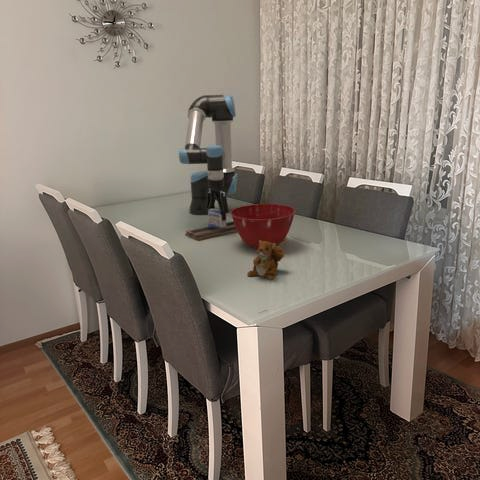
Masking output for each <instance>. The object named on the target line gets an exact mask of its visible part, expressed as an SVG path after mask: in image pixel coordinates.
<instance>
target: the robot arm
mask: <svg viewBox="0 0 480 480" xmlns="http://www.w3.org/2000/svg"><path fill="white" fill-rule="evenodd" d="M236 113H237V112H236V106H235V100H234V96H232V95H231V94H212V95H211V94H210V95H209V94H207V95H205V94H204V95H201V96H199V97H198V98H196V99H195V100H194V101H192V103H191V104H190V106H189V108H188V110H187V118H188V124H187V131H186V135H185V136H186V137H185V143H184V147H183V148H180V149H179V150H178V159H179V163H180V164H181V165H198V164H199V165H203V164H204V165H205V164H206V166H207V170H201V171H197V172H193V173H192V174H191V175H190V192H191V193H190V194H191V201H190V205H189V211H188V213H190V214H191V215H199V216H200V215H208V210H209V209H212V208H214V209H216V205H215V203H216V201H217V205H218V207H219V208H218V209H220V212H221V213H220V227H225V226H226V223H227V214H229V205H228V198H227V195H230V194H235V193H236V190H237V184H238V173H237V172H236V171H235V168H234V167H233V157H232V129H231V126H232V125H231V124H232V123H233V121H234V118H235V117H236V116H237V115H236ZM206 118H209V119H210V118H211V122H212V123H213V124H214V131H215V144H214V145H208V146H207V147H201V142H202V136H203V127H204V122H205V120H206Z"/></svg>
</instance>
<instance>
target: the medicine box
mask: <svg viewBox="0 0 480 480" xmlns="http://www.w3.org/2000/svg"><path fill="white" fill-rule="evenodd" d="M220 213H221V212H220V208H215V209H214V208H212V209H209V210H208V214H207V217H208V226H209V227H213V228H224V227H220ZM226 226H227V222H226ZM226 226H225V227H226Z"/></svg>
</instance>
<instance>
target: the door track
mask: <svg viewBox="0 0 480 480" xmlns="http://www.w3.org/2000/svg"><path fill="white" fill-rule="evenodd" d="M226 223H227V226H226V227H224V228H213V227H209V225H208V226H204V227H200V228H199V227H198V228H194V229H191V230H186V231H185V234H184V236H186V237H188V238H191V239H192V240H195V241H197V242H201V241H204V240H209V239H212V238H214V239H215V238H217V237H222V236H226V235H231V234H235V233H238V231H237V229H236V227H235V224H234V221H233V220H232V221H228V222H227V221H226Z"/></svg>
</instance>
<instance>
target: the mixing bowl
mask: <svg viewBox="0 0 480 480" xmlns="http://www.w3.org/2000/svg"><path fill="white" fill-rule="evenodd" d="M295 214H296V209H295V208H294V207H292V206H289V205H285V204H279V203H255V204H247V205H243V206H242V205H241V206H238V207H235V208H233V209H231V210H230V215H231V217H232V221H234V224H235V227H236V229H237V231H238V232H237V233H238V235H239V237H240V239H241V241H242V242H244V244H246V245H247V246H250V247H251V248H254V249H258V248H259V244H260V243H259V240H261V241H267V242H270V243H271V244H272V243H275V246H278V245H280V244H282V243H283V242H284V241H285V239H286V237H287V236H288V234H289V231H290V230H291V229H290V228H291V226H292V224H293V221H294V216H295Z"/></svg>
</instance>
